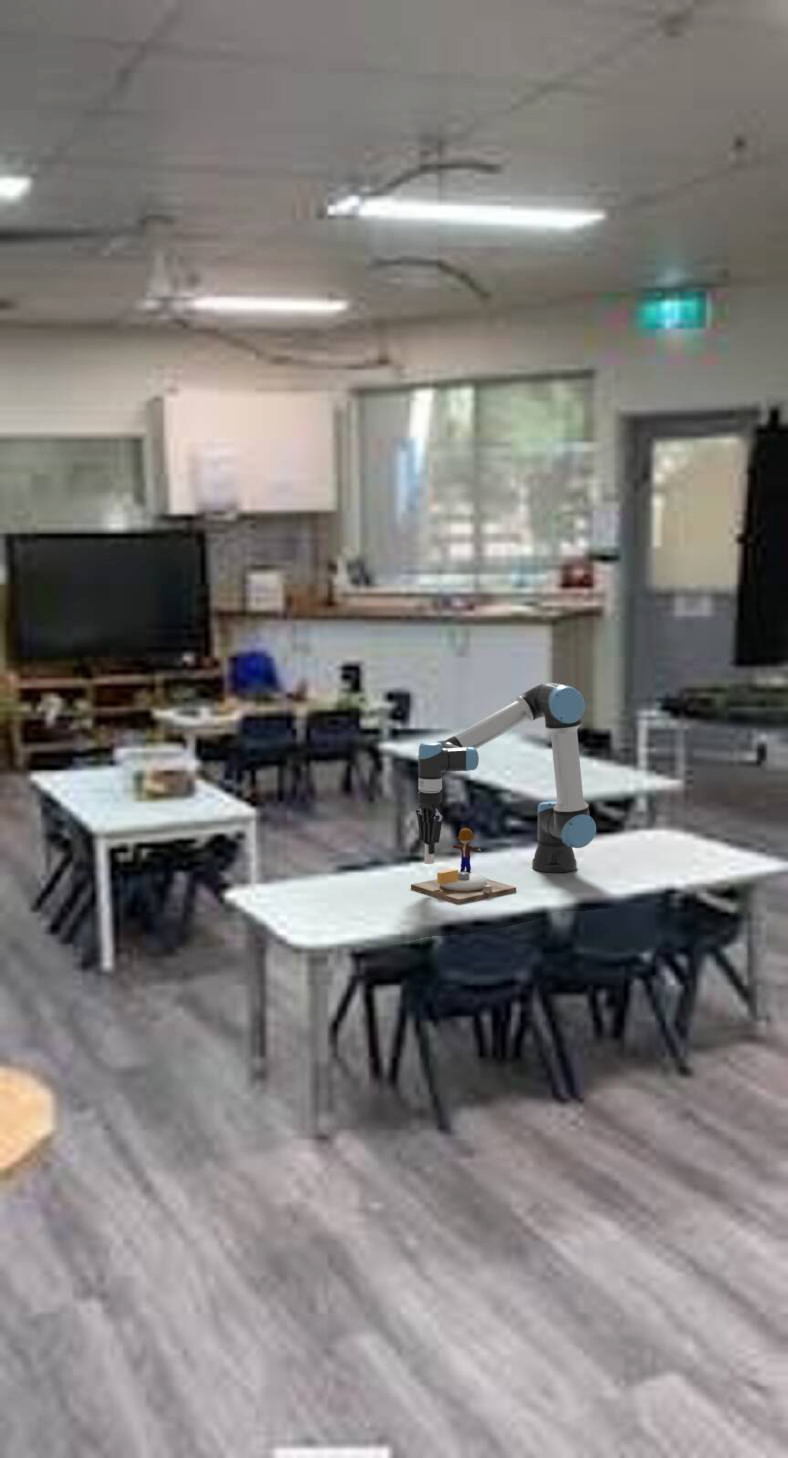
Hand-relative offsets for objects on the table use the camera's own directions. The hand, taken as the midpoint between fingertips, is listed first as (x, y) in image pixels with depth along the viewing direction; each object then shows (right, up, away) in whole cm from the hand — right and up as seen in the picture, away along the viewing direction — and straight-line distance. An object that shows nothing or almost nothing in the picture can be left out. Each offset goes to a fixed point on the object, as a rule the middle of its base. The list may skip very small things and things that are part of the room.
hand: (429, 863), depth 462 cm
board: (+11, -9, +1) cm, 14 cm away
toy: (+13, -5, +26) cm, 29 cm away
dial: (+10, -7, 0) cm, 12 cm away
